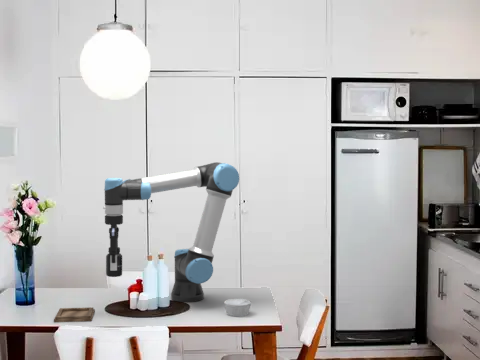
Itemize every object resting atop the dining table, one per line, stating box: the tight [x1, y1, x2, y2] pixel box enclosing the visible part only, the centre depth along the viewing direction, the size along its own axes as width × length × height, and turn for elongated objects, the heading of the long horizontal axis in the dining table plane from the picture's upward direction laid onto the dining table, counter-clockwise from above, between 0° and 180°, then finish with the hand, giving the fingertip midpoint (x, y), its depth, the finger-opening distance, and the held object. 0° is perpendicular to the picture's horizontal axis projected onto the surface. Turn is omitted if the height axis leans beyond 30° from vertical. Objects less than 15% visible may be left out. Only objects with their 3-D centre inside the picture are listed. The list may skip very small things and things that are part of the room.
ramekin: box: [224, 298, 252, 317], centre depth 306 cm, size 11×11×5 cm
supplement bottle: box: [105, 246, 123, 278], centre depth 305 cm, size 7×7×12 cm
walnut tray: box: [53, 306, 96, 323], centre depth 301 cm, size 15×15×2 cm
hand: (114, 268), depth 306 cm, fingers closed on supplement bottle, 7 cm apart
